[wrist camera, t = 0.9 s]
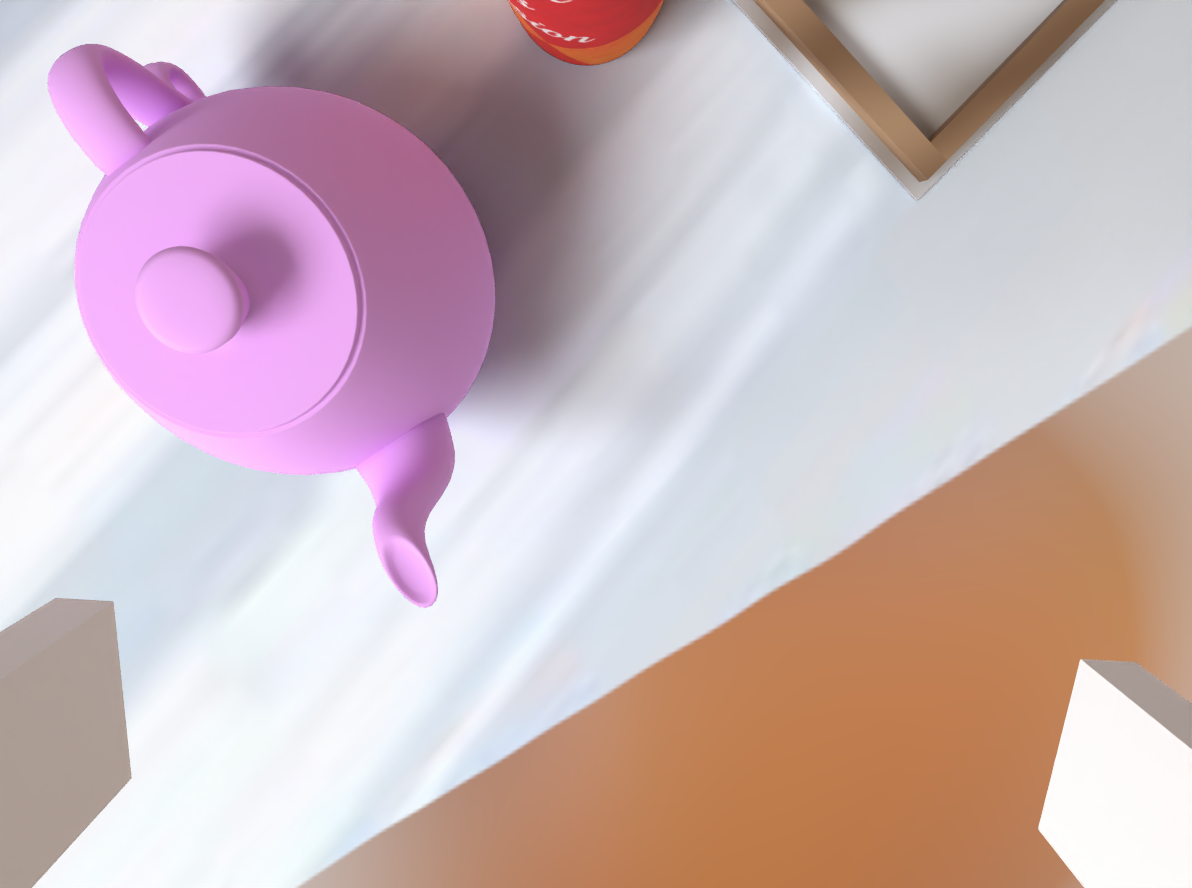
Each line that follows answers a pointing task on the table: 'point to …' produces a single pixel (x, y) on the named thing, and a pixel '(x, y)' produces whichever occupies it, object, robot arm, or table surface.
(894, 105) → the wooden picture frame
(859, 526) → the table surface
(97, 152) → the teapot
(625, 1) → the coffee cup
